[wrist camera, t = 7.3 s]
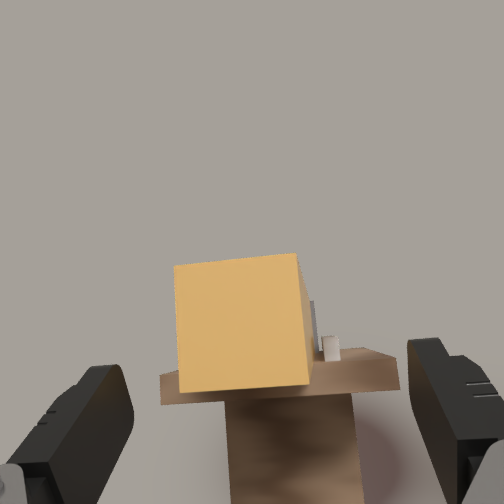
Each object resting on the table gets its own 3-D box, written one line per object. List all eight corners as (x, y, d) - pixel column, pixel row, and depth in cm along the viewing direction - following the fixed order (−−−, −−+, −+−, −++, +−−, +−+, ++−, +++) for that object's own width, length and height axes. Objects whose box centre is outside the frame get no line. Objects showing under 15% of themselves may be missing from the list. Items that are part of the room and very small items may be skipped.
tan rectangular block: (170, 393, 13) (164, 266, 14) (263, 356, 36) (259, 307, 37) (319, 383, 13) (305, 251, 14) (319, 351, 35) (313, 302, 36)
